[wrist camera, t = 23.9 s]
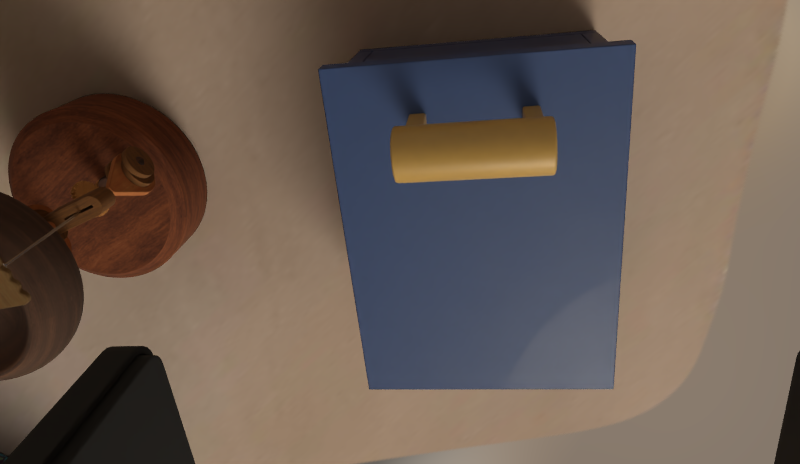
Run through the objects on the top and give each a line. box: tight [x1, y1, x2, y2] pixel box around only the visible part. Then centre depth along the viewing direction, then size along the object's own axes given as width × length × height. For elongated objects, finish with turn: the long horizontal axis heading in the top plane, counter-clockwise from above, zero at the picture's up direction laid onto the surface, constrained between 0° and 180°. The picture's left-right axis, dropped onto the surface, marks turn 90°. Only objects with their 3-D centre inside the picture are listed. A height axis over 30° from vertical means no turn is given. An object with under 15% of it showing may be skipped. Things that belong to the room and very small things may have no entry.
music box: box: [0, 94, 207, 381], centre depth 30 cm, size 15×11×20 cm
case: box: [348, 30, 608, 63], centre depth 32 cm, size 16×12×8 cm
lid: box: [318, 40, 636, 389], centre depth 26 cm, size 16×12×6 cm
